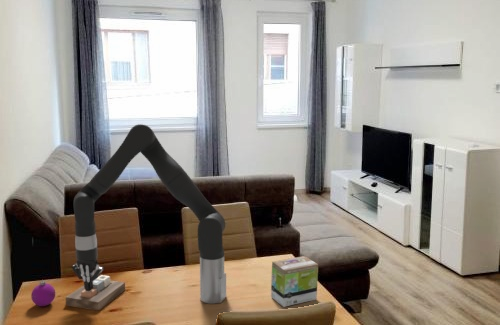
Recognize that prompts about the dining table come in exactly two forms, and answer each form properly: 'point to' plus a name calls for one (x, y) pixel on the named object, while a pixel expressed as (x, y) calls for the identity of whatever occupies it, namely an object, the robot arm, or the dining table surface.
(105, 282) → the key ivory
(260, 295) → the dining table surface
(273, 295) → the tea box
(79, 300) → the keypad board
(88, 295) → the key terracotta
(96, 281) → the key slate
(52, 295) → the christmas ornament
